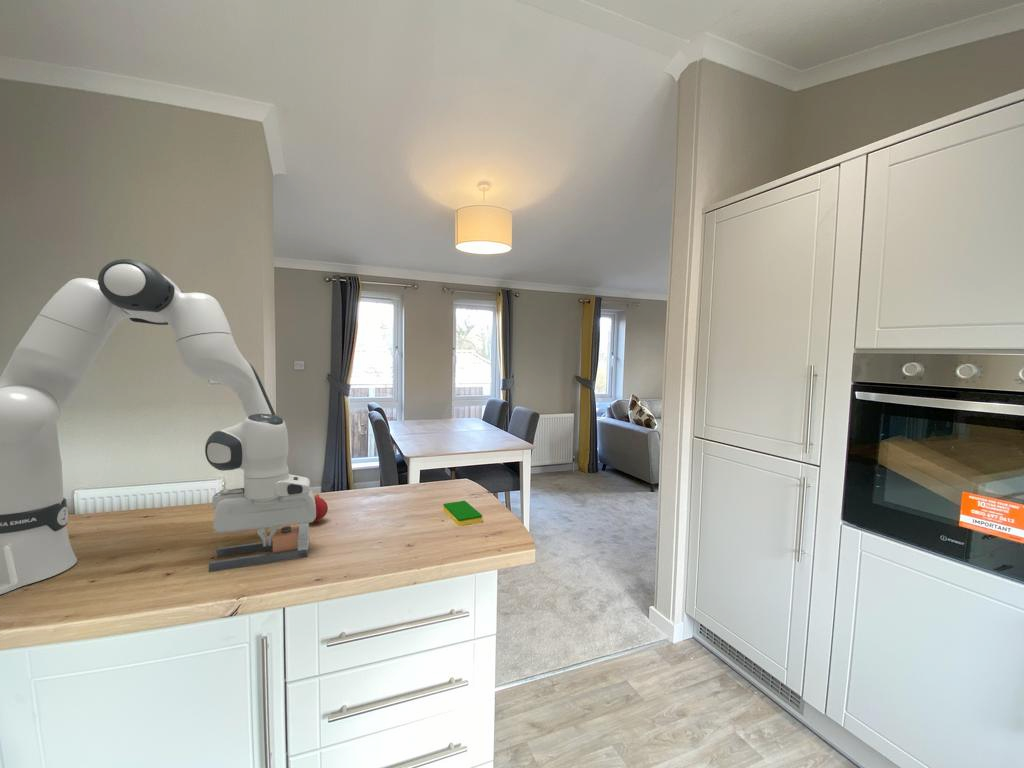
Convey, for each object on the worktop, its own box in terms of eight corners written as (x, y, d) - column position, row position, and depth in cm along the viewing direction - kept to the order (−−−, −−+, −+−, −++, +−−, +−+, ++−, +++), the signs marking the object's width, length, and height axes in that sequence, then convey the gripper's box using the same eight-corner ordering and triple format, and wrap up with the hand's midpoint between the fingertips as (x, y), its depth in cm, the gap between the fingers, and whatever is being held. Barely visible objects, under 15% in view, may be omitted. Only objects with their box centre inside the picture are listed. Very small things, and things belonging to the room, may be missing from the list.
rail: (208, 572, 89) (208, 549, 89) (217, 555, 96) (217, 534, 96) (307, 556, 96) (307, 535, 96) (309, 542, 104) (308, 522, 103)
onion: (318, 527, 113) (318, 498, 112) (299, 525, 114) (299, 496, 113) (331, 519, 118) (331, 491, 118) (313, 517, 120) (313, 490, 119)
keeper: (272, 558, 95) (272, 533, 95) (275, 549, 100) (275, 525, 99) (297, 555, 97) (297, 530, 97) (299, 546, 102) (298, 522, 101)
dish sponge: (464, 507, 131) (464, 500, 131) (482, 523, 119) (482, 515, 119) (442, 511, 128) (442, 503, 128) (458, 527, 116) (458, 519, 115)
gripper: (208, 495, 89) (209, 559, 90) (315, 485, 97) (315, 544, 98) (215, 486, 94) (217, 546, 95) (316, 478, 103) (316, 533, 103)
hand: (267, 545), depth 97 cm, fingers closed
